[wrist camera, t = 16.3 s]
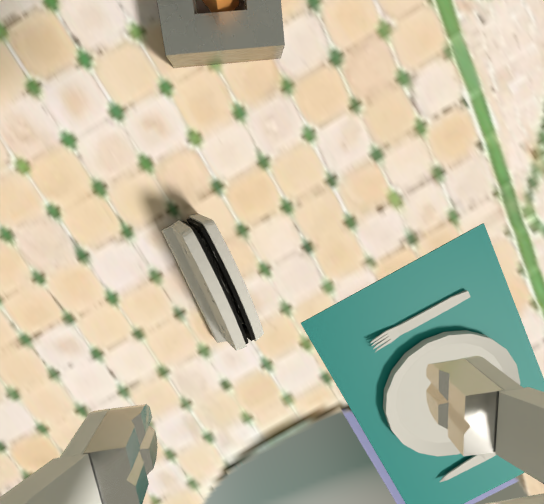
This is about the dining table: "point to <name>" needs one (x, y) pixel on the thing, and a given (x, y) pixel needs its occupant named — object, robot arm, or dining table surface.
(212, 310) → the grey rounded block
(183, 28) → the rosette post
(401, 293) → the place mat
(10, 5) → the dining table surface
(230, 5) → the orange rectangular block
